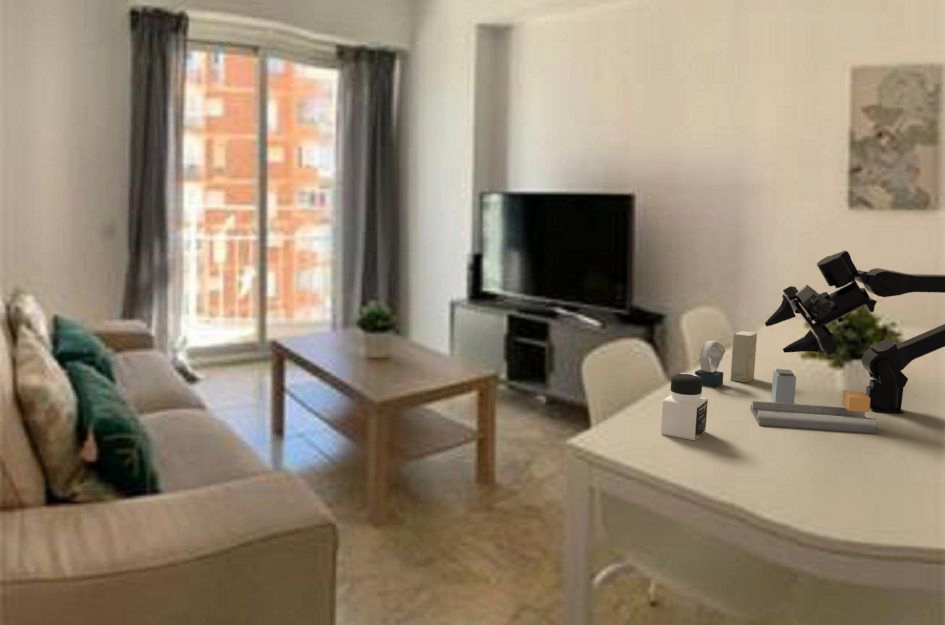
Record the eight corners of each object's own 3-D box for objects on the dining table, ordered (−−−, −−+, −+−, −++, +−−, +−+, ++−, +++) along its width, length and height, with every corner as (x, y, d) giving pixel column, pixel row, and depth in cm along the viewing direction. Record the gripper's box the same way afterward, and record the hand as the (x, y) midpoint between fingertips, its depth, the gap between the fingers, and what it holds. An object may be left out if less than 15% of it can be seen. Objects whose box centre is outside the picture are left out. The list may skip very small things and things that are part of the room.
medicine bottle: (695, 441, 155) (699, 381, 153) (660, 434, 159) (663, 376, 157) (705, 431, 161) (710, 374, 159) (671, 425, 165) (675, 369, 163)
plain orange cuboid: (862, 405, 169) (863, 391, 169) (869, 412, 164) (870, 398, 164) (842, 404, 170) (843, 390, 170) (848, 410, 165) (849, 396, 165)
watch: (725, 382, 200) (728, 340, 198) (712, 389, 194) (715, 345, 192) (704, 379, 204) (707, 337, 202) (690, 384, 198) (693, 341, 196)
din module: (789, 401, 185) (792, 369, 183) (793, 407, 180) (796, 374, 179) (771, 400, 185) (773, 368, 184) (775, 405, 181) (777, 373, 179)
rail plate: (860, 416, 173) (861, 405, 173) (877, 434, 161) (878, 422, 161) (750, 409, 177) (751, 398, 177) (759, 425, 166) (760, 413, 165)
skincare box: (746, 383, 200) (750, 336, 198) (729, 380, 203) (732, 333, 201) (754, 378, 205) (758, 332, 203) (737, 375, 208) (740, 330, 206)
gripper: (809, 256, 180) (746, 290, 183) (852, 307, 166) (782, 343, 169) (822, 287, 187) (760, 320, 190) (864, 339, 172) (796, 373, 176)
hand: (774, 337), depth 181 cm, fingers open, 9 cm apart
